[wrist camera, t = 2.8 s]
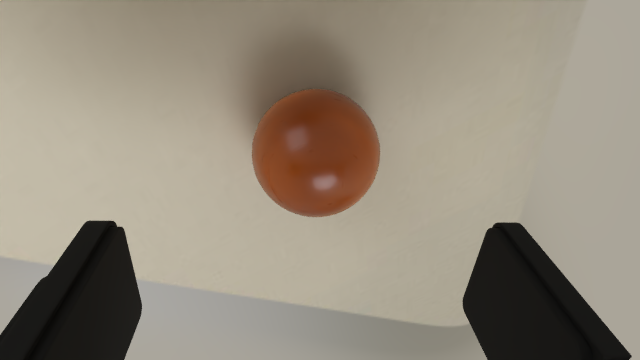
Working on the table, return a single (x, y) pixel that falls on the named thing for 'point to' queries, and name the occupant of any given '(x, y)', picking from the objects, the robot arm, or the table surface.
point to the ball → (315, 152)
